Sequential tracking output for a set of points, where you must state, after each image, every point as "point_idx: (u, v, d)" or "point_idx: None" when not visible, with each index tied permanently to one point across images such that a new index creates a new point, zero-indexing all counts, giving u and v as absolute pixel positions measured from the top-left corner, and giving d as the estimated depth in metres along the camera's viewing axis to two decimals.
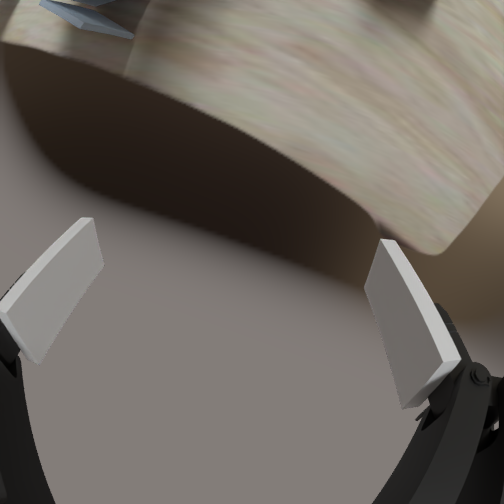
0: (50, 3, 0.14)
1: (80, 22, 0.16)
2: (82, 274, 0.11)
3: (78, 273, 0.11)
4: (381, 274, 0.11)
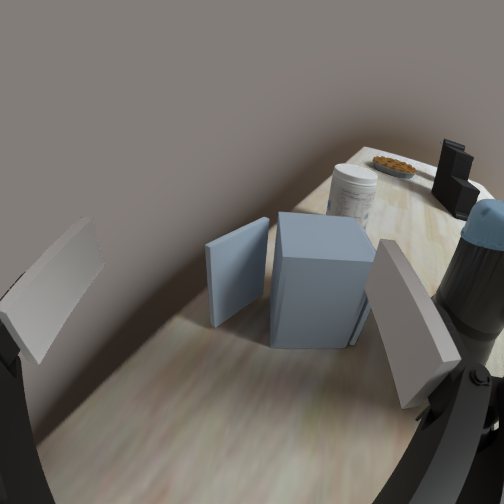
0: (257, 225, 0.34)
1: (212, 245, 0.29)
2: (82, 274, 0.11)
3: (78, 274, 0.11)
4: (381, 274, 0.11)
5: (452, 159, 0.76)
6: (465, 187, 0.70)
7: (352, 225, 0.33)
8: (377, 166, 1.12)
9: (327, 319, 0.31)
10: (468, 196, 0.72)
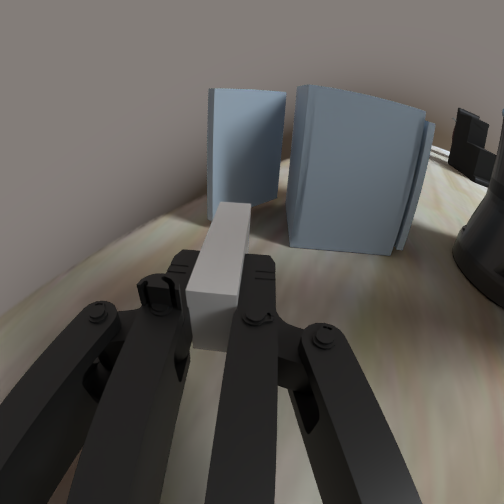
0: (273, 92, 0.25)
1: None
2: None
3: None
4: None
5: (468, 124, 0.66)
6: (483, 150, 0.61)
7: None
8: None
9: (369, 197, 0.22)
10: (486, 160, 0.62)
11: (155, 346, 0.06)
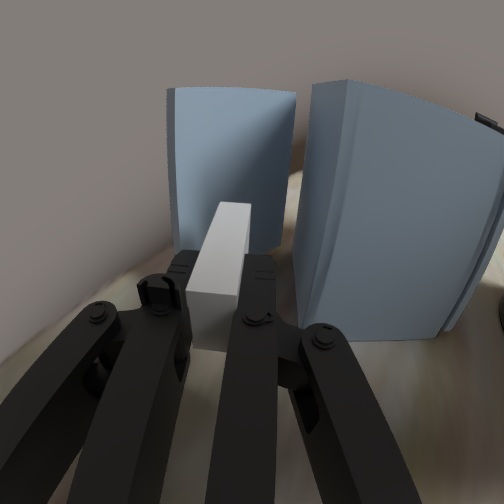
0: (277, 92, 0.16)
1: None
2: None
3: None
4: None
5: None
6: None
7: None
8: None
9: (425, 272, 0.13)
10: None
11: (155, 346, 0.06)
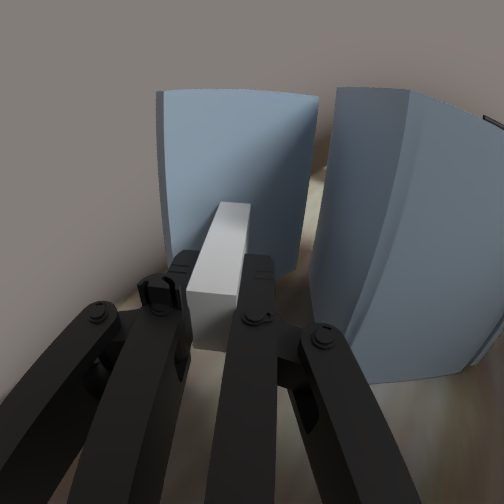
0: (295, 95, 0.13)
1: (173, 90, 0.09)
2: None
3: None
4: None
5: None
6: None
7: None
8: None
9: (464, 314, 0.10)
10: None
11: (155, 346, 0.06)
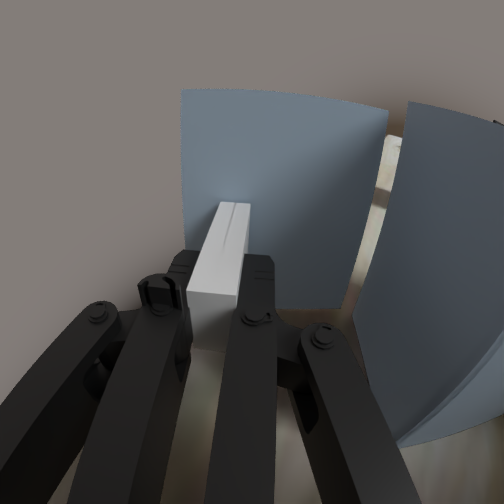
0: (348, 104, 0.11)
1: (193, 89, 0.11)
2: None
3: None
4: None
5: None
6: None
7: None
8: None
9: None
10: None
11: (156, 346, 0.06)
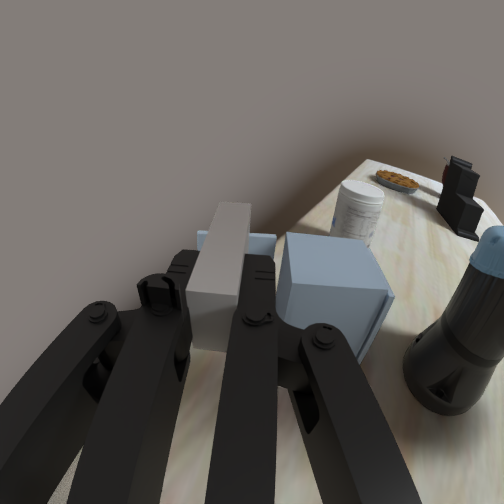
0: (259, 237, 0.34)
1: (201, 233, 0.34)
2: None
3: None
4: None
5: (458, 176, 0.76)
6: (469, 205, 0.71)
7: (361, 248, 0.32)
8: (380, 180, 1.12)
9: None
10: (472, 213, 0.72)
11: (155, 346, 0.06)
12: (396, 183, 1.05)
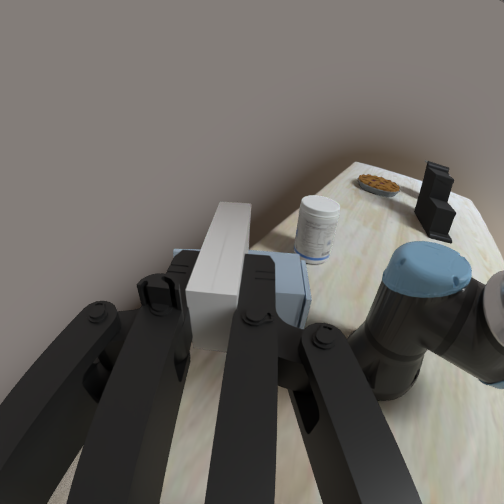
0: None
1: (176, 250, 0.46)
2: None
3: None
4: None
5: (432, 181, 0.87)
6: (440, 209, 0.81)
7: (294, 261, 0.44)
8: (361, 185, 1.22)
9: None
10: (444, 217, 0.82)
11: (155, 346, 0.06)
12: (376, 187, 1.15)
